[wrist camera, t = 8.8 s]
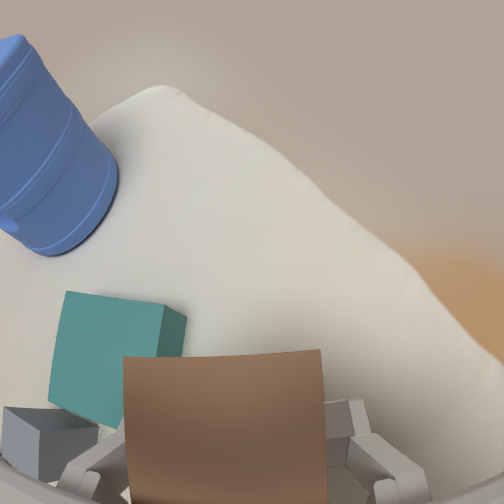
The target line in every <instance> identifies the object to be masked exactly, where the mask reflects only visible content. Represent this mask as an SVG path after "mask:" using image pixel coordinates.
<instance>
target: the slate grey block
mask: <svg viewBox="0 0 504 504" xmlns="http://www.w3.org/2000/svg"><path fill="white" fill-rule="evenodd" d="M98 429H99V426H97V425H95V424H92V423H90V422H88V421H86V420H83V419H81V418H79V417H77V416H75V415H73V414H71V413H69V412H67V411H65V410H63V409H34V408H16V407H4V408H3V426H2V457H3V458H4V459H5V460H7V461H8V462H9V463H10V464H11V465H13V466H14V467H15V468H17V469H18V470H19V471H20V472H22V473H24V474H26V475H28V476H30V477H33V478H35V479H37V480H39V481H42V482H44V483H49V482H53V481H58V480H60V478H61V476H62V474H63V472H64V470H65V468H66V466H67V464H68V463H69V462H70V461H72V460H73V459H75V458H76V457H78V456H79V455H81V454H83V453H84V452H86V451H87V450H89V449H90V448H92V447H93V446H95V445H96V444H97V438H98Z"/></svg>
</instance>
